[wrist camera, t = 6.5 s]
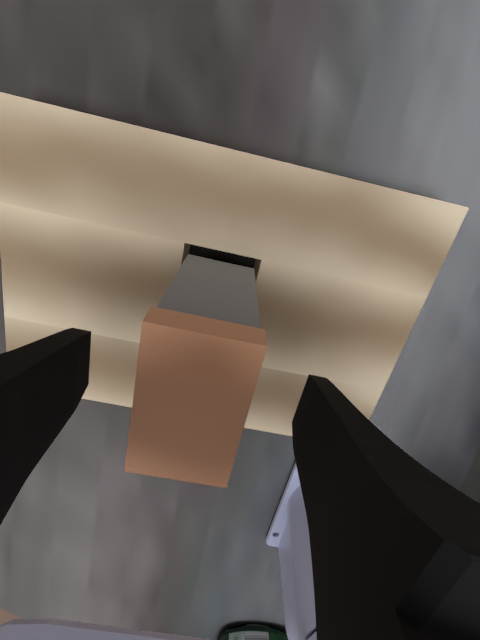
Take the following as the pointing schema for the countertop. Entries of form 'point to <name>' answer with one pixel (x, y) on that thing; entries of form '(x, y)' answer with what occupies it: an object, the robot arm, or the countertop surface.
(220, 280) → the orange brown rectangular block
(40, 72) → the countertop surface
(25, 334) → the beige wooden board
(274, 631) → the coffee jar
